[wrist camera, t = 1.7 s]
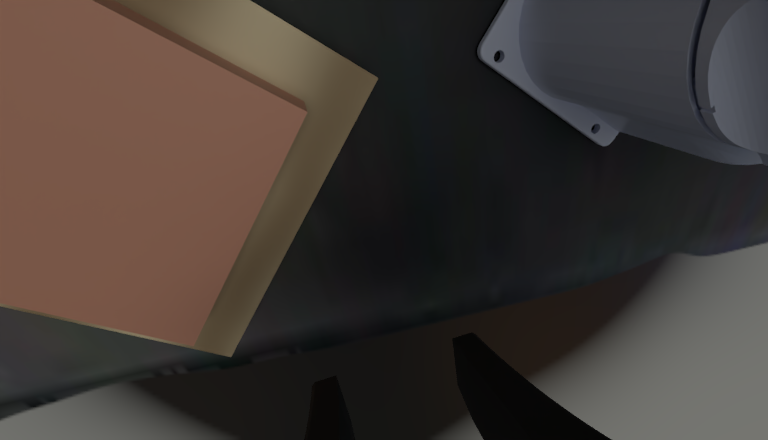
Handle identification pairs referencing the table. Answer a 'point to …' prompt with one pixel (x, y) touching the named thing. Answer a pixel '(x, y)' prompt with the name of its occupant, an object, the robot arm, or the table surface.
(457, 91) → the table surface
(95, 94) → the salmon orange slab
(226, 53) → the wooden block
